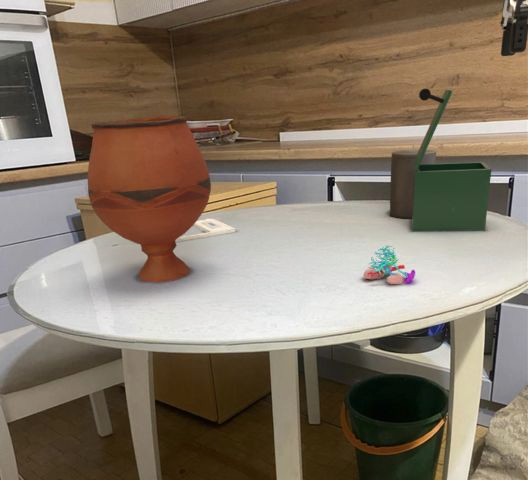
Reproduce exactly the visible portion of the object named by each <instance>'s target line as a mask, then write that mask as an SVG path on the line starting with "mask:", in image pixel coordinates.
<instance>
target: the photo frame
mask: <svg viewBox="0 0 528 480" xmlns="http://www.w3.org/2000/svg"><path fill="white" fill-rule="evenodd" d="M192 227H195V228H197V229H199V230H201V231H203V232H202V233H197V234H196V233H195V234H190V235H185V236H180V237H179V238H177V239H176V240H175V242H176V243H179V242H183V241H191V240H195V239H201V238H207V237H208V238H209V237H212V236H213V237H214V236H219V235H224V234H231V233H235V232H236V228H235V227H233V226H231V225H228V224H226V223H223V222H222V221H219V220H216V219H215V218H206V219H198V220H197V221H196V223H195V224H194V225H193V226H192Z"/></svg>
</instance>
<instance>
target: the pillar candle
mask: <svg viewBox="0 0 528 480" xmlns="http://www.w3.org/2000/svg"><path fill="white" fill-rule="evenodd" d="M418 151H419V149H415V145H412V149H402V150H396V151H392V152H391V159H390V160H391V161H390V163H391V164H390V186H389V187H390V188H389V189H390V190H389V191H390V192H389V213H388V214H389V216H390V217H392V218H399V219H412V209H413V189H414V160H415V158H416V156H417V153H418ZM436 161H437V150H433V149H426V152H425V154H424V156H423V158H422V160H421V163H420V164H437V163H436Z"/></svg>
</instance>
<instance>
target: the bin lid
mask: <svg viewBox="0 0 528 480" xmlns="http://www.w3.org/2000/svg"><path fill="white" fill-rule="evenodd" d="M452 94H453V90H451V89H445V90H444V93H443V95H442V96H441V97H439V96H436V95H434V94H431V90H430V89H429V88H422V89H420V91H419V92H418V98H419V99H420V100H421V101H428V100H433V101H436V102H438V103H439V104H438V106H437V108H436V111H435V113H434V115H433V117H432V120H431V122H430V124H429V126H428V129H427V131H426V132H425V135H424V137H423V140H422V142H421V144H420V147H419V149H418V150H419V151H418V153H417V156H416V158H415V160H414V170H417V169H418V167H419V165H420V163H421V160H422V158H423V156H424V154H425V152H426V150H428V147H429V144H430V143H431V141H432V139H433V136H434V133H435V132H436V129H437V127H438V125H439V123H440V120H441V118H442V116H443V114H444V112H445V109H446V107H447V105H448V102H449V100H450V98H451V96H452Z"/></svg>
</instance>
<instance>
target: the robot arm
mask: <svg viewBox="0 0 528 480" xmlns="http://www.w3.org/2000/svg"><path fill="white" fill-rule="evenodd" d="M502 3H503V4H502V9H501V21H500V27H501V30H502V31H503V32H502V39H501V48H500V55H501V57H512V56H514V55H515V54H517V53H518V54H519V53H523V52H525V51H526V49H527V42H528V0H503V2H502Z"/></svg>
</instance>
